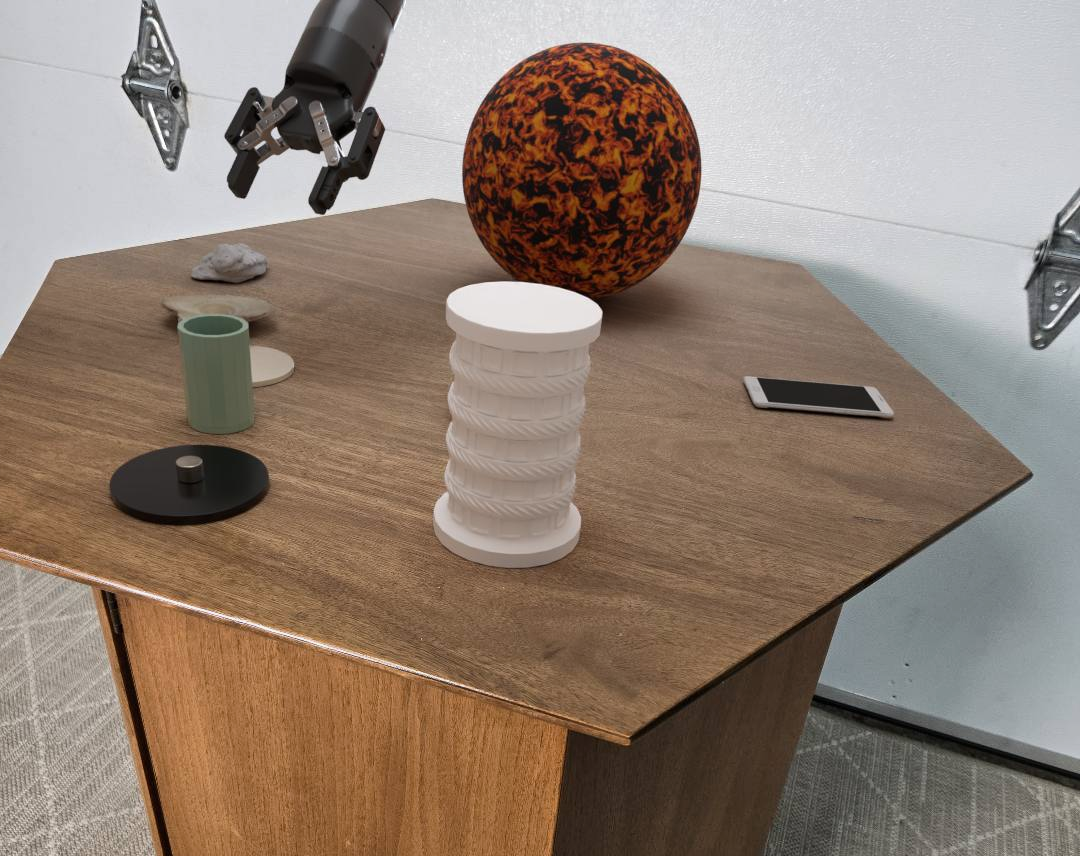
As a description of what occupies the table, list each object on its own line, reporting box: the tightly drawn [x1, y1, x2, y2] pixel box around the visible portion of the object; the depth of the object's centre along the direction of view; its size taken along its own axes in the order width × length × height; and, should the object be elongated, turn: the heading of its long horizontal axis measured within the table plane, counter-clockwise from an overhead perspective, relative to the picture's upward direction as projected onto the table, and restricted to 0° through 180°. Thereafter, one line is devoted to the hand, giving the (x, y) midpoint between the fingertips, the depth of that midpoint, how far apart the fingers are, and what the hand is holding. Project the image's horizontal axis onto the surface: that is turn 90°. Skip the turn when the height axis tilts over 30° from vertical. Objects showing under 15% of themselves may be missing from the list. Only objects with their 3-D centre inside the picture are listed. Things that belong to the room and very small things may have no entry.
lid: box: [108, 444, 270, 526], centre depth 78 cm, size 12×12×2 cm
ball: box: [461, 42, 702, 300], centre depth 123 cm, size 30×30×30 cm
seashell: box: [159, 294, 276, 324], centre depth 109 cm, size 12×12×3 cm
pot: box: [176, 314, 256, 435], centre depth 87 cm, size 6×6×9 cm
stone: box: [190, 242, 270, 284], centre depth 124 cm, size 10×5×10 cm
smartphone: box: [742, 375, 895, 419], centre depth 105 cm, size 8×1×15 cm
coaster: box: [250, 345, 295, 388], centre depth 99 cm, size 10×10×1 cm
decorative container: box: [432, 280, 603, 569], centre depth 73 cm, size 12×12×18 cm
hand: (275, 201), depth 89 cm, fingers open, 8 cm apart
